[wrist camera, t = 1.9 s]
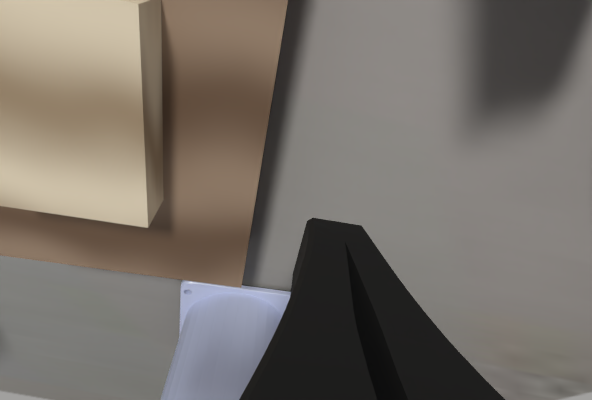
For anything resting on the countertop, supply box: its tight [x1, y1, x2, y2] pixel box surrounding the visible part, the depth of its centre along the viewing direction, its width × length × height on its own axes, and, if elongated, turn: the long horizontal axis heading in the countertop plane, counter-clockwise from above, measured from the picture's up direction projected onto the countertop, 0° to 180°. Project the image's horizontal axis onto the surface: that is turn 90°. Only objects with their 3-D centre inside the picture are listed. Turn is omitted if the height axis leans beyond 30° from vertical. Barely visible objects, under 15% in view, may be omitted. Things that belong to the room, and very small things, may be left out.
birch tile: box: [0, 0, 164, 228], centre depth 13 cm, size 8×6×2 cm
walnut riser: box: [0, 0, 288, 288], centre depth 15 cm, size 18×12×4 cm, turn 169°
